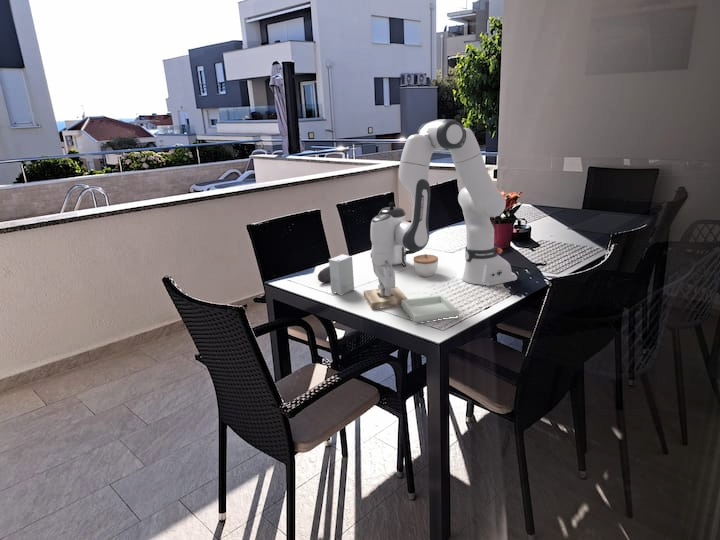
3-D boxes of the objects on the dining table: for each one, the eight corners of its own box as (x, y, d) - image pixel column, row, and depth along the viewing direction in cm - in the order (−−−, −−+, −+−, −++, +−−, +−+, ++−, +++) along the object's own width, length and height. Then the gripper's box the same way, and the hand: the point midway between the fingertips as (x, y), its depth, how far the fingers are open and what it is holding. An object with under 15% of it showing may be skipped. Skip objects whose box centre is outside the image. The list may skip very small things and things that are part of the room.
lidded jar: (439, 271, 221) (439, 251, 219) (436, 278, 212) (436, 258, 209) (416, 270, 224) (415, 250, 221) (412, 278, 215) (411, 257, 212)
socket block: (397, 292, 199) (397, 286, 198) (407, 304, 186) (407, 298, 185) (363, 296, 196) (363, 290, 196) (371, 309, 183) (371, 303, 183)
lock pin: (388, 298, 193) (388, 283, 192) (391, 301, 190) (390, 287, 188) (379, 299, 193) (378, 285, 191) (381, 303, 189) (380, 288, 187)
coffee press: (394, 271, 224) (392, 207, 215) (372, 264, 236) (368, 203, 227) (421, 263, 234) (419, 200, 225) (398, 256, 246) (395, 197, 237)
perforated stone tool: (321, 285, 212) (320, 270, 210) (315, 282, 216) (313, 267, 214) (349, 277, 220) (348, 262, 218) (342, 274, 225) (341, 260, 222)
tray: (442, 302, 186) (441, 294, 185) (458, 318, 171) (458, 310, 170) (401, 307, 183) (401, 300, 183) (414, 324, 168) (414, 316, 168)
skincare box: (344, 287, 209) (342, 253, 204) (355, 289, 205) (352, 255, 200) (330, 292, 203) (327, 258, 198) (340, 295, 199) (338, 260, 194)
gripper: (398, 264, 177) (400, 300, 181) (384, 250, 196) (386, 282, 200) (381, 266, 176) (383, 302, 180) (369, 251, 195) (371, 284, 199)
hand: (384, 291), depth 190 cm, fingers open, 7 cm apart
